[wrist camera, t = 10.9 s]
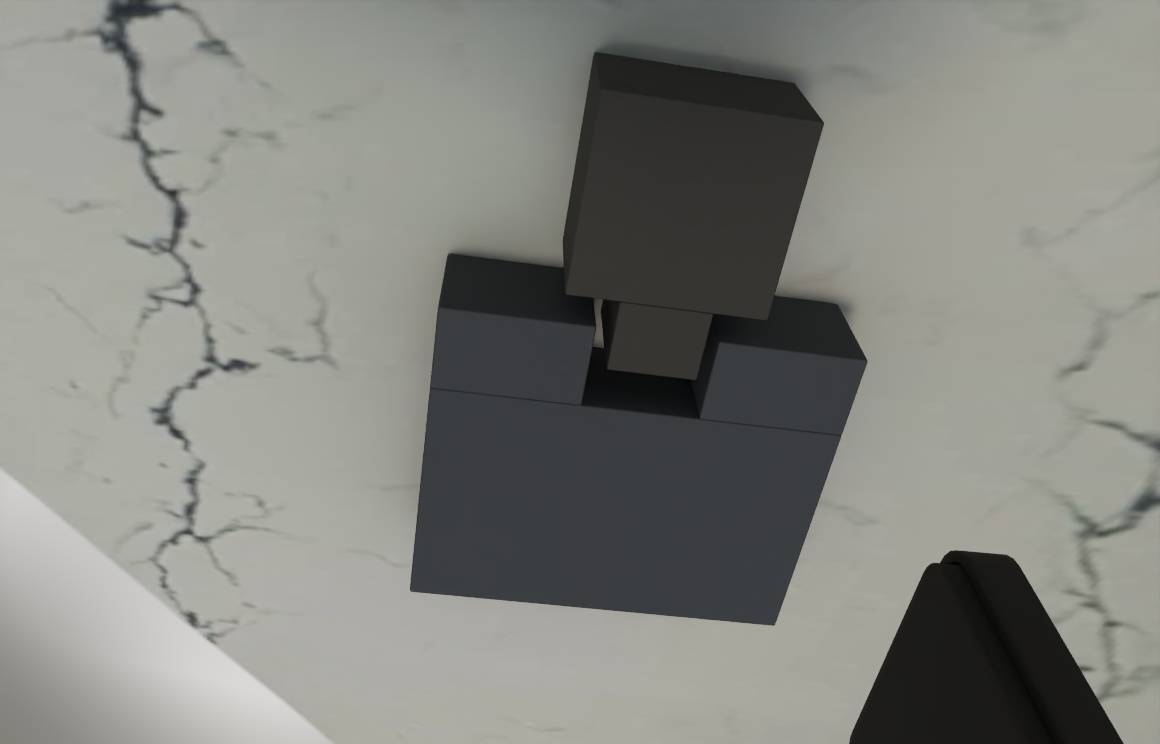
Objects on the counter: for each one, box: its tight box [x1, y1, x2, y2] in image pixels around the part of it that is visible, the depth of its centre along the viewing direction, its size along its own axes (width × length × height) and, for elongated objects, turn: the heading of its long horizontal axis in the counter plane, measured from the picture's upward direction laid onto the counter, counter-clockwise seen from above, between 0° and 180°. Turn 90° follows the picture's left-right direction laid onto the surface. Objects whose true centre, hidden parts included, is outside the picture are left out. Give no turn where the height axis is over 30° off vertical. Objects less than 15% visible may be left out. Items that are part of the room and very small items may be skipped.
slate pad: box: [410, 254, 867, 625], centre depth 38 cm, size 12×14×4 cm
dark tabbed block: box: [563, 52, 824, 380], centre depth 33 cm, size 9×6×4 cm
